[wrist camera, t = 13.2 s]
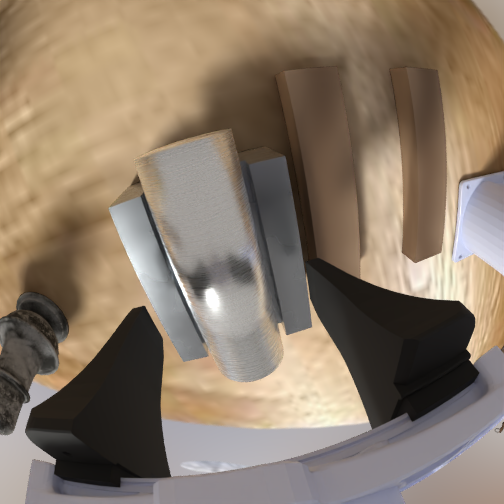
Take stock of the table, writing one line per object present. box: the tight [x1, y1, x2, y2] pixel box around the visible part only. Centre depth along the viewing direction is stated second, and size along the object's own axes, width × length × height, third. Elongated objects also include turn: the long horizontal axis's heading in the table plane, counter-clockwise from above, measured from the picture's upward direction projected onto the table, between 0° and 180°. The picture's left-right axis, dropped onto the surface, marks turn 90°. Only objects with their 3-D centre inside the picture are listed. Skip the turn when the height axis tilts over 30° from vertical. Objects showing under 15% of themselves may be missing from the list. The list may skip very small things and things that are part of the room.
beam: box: [275, 66, 447, 279], centre depth 16 cm, size 11×14×2 cm
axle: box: [133, 129, 284, 382], centre depth 13 cm, size 12×4×4 cm, turn 12°
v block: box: [109, 147, 312, 362], centre depth 16 cm, size 8×10×4 cm
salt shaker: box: [0, 292, 69, 435], centre depth 12 cm, size 6×6×12 cm
